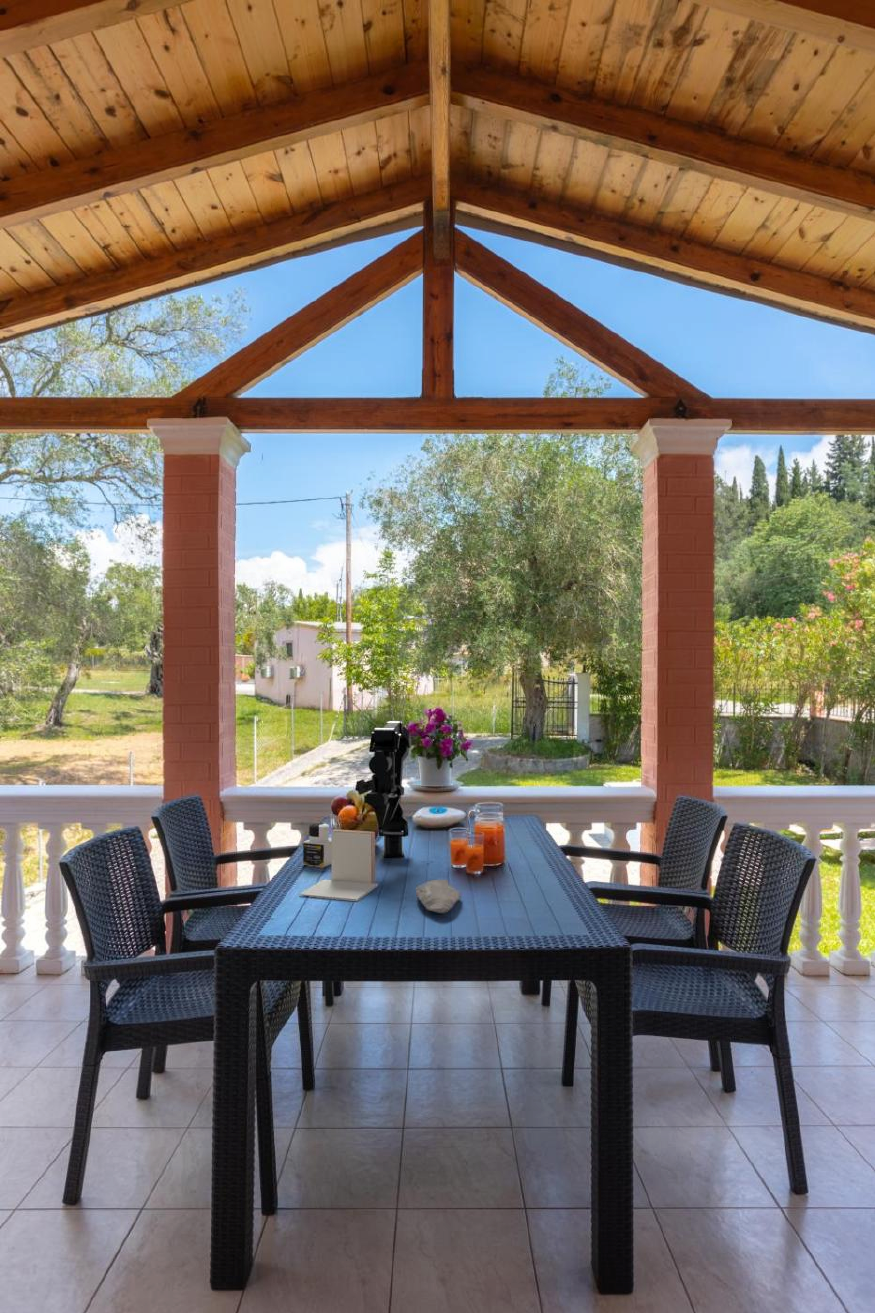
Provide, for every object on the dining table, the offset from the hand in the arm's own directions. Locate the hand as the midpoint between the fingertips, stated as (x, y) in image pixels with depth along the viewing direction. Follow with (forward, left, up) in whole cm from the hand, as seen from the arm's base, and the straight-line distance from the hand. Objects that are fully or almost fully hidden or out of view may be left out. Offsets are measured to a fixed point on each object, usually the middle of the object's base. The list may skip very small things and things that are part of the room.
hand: (384, 823), depth 243 cm
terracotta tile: (+15, -10, -13) cm, 22 cm away
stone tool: (+39, +10, -13) cm, 43 cm away
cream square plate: (+23, -14, -13) cm, 30 cm away
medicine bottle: (-7, -19, -13) cm, 24 cm away
